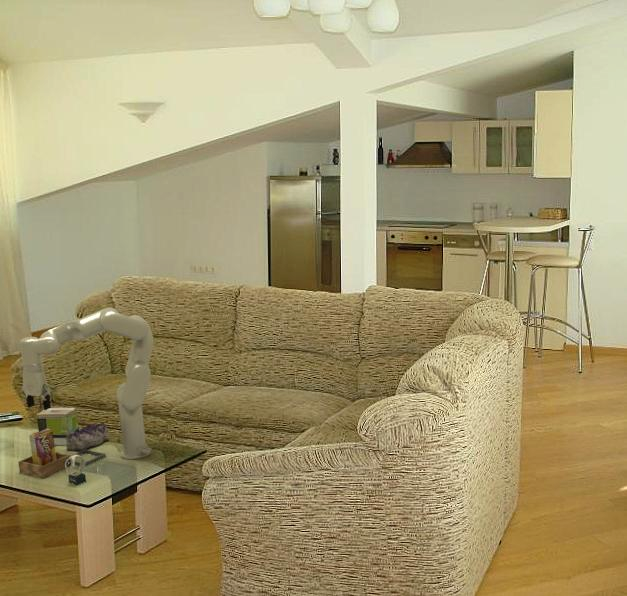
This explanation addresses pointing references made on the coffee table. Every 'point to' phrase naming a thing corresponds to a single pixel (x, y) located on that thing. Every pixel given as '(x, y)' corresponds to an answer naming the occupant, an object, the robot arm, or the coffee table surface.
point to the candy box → (42, 447)
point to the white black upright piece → (77, 476)
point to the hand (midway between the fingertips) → (39, 407)
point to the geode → (87, 437)
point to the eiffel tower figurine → (39, 408)
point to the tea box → (58, 422)
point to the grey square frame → (100, 455)
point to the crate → (46, 470)
